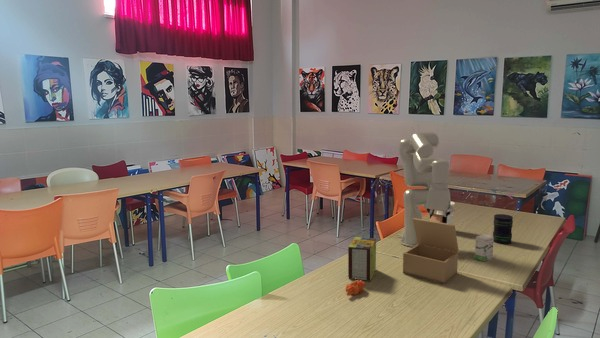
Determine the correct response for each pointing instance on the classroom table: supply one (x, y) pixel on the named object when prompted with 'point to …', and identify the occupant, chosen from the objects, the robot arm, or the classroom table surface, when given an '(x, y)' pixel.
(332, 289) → the classroom table surface
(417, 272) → the carton
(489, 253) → the ink box
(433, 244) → the lid flap
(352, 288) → the orange toy bird
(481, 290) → the classroom table surface
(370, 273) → the protein box
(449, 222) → the decorative container
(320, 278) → the classroom table surface
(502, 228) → the storage jar
